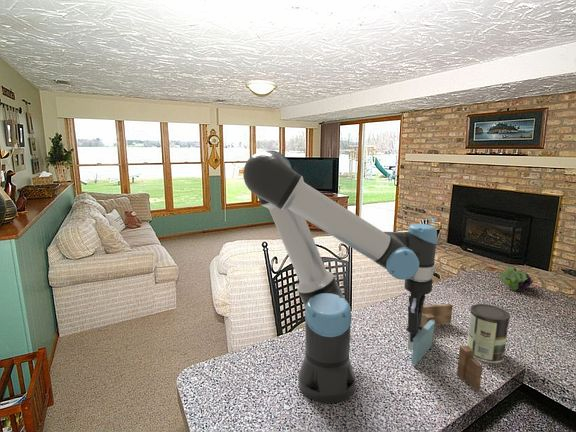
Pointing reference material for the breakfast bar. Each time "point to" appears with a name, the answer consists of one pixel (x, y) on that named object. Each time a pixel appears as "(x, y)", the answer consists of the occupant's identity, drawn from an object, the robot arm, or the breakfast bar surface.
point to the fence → (466, 363)
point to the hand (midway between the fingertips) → (412, 349)
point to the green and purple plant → (516, 279)
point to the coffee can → (488, 332)
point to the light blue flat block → (423, 341)
